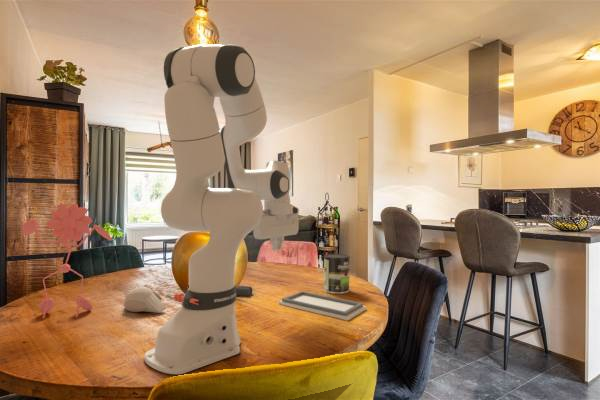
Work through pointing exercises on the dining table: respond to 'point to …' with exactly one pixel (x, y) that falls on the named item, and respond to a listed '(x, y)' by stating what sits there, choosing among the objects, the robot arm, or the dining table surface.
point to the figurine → (66, 227)
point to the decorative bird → (143, 300)
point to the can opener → (243, 290)
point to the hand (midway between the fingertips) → (277, 250)
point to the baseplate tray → (324, 305)
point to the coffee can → (336, 273)
